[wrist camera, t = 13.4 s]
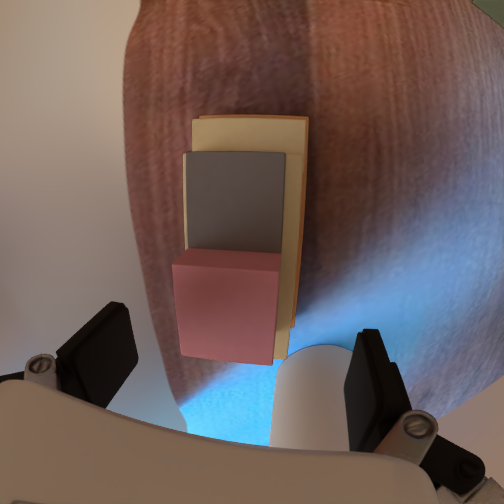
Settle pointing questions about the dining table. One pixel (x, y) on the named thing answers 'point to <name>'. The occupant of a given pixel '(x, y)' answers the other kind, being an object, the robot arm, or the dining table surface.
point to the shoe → (296, 148)
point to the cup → (311, 400)
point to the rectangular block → (492, 9)
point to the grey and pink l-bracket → (231, 256)
